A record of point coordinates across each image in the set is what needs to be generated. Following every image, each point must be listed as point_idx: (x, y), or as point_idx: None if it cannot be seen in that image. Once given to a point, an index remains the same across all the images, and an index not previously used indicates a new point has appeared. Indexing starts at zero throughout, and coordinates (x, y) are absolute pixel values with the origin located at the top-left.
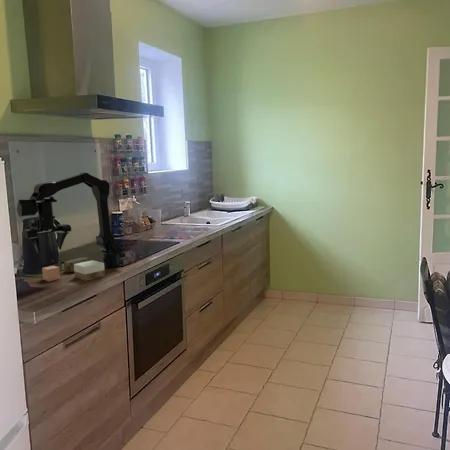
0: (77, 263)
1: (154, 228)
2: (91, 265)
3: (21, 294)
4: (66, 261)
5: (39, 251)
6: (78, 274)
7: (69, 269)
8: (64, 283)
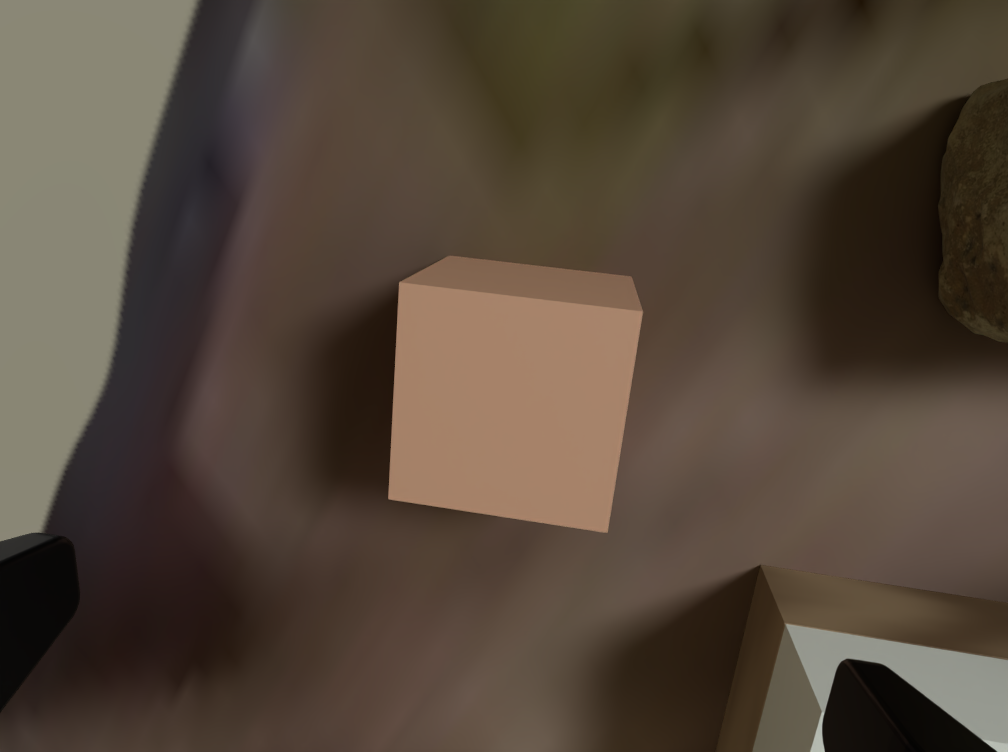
0: None
1: None
2: None
3: None
4: None
5: (29, 667)
6: (749, 704)
7: (960, 283)
8: (496, 675)
